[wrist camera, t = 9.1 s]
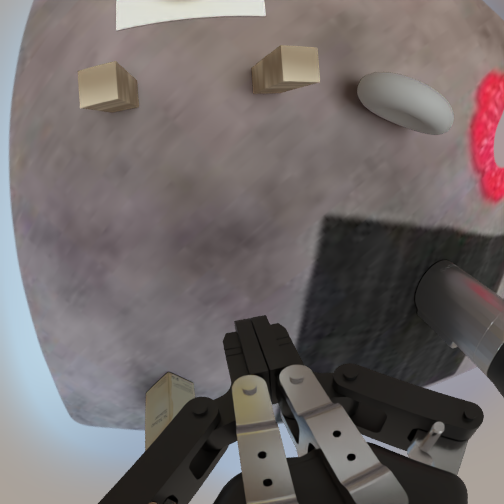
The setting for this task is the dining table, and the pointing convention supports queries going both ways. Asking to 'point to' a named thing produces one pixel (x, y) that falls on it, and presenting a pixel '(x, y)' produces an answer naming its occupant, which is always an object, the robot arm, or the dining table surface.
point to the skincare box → (165, 404)
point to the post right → (286, 70)
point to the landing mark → (181, 10)
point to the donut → (406, 102)
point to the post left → (107, 88)
